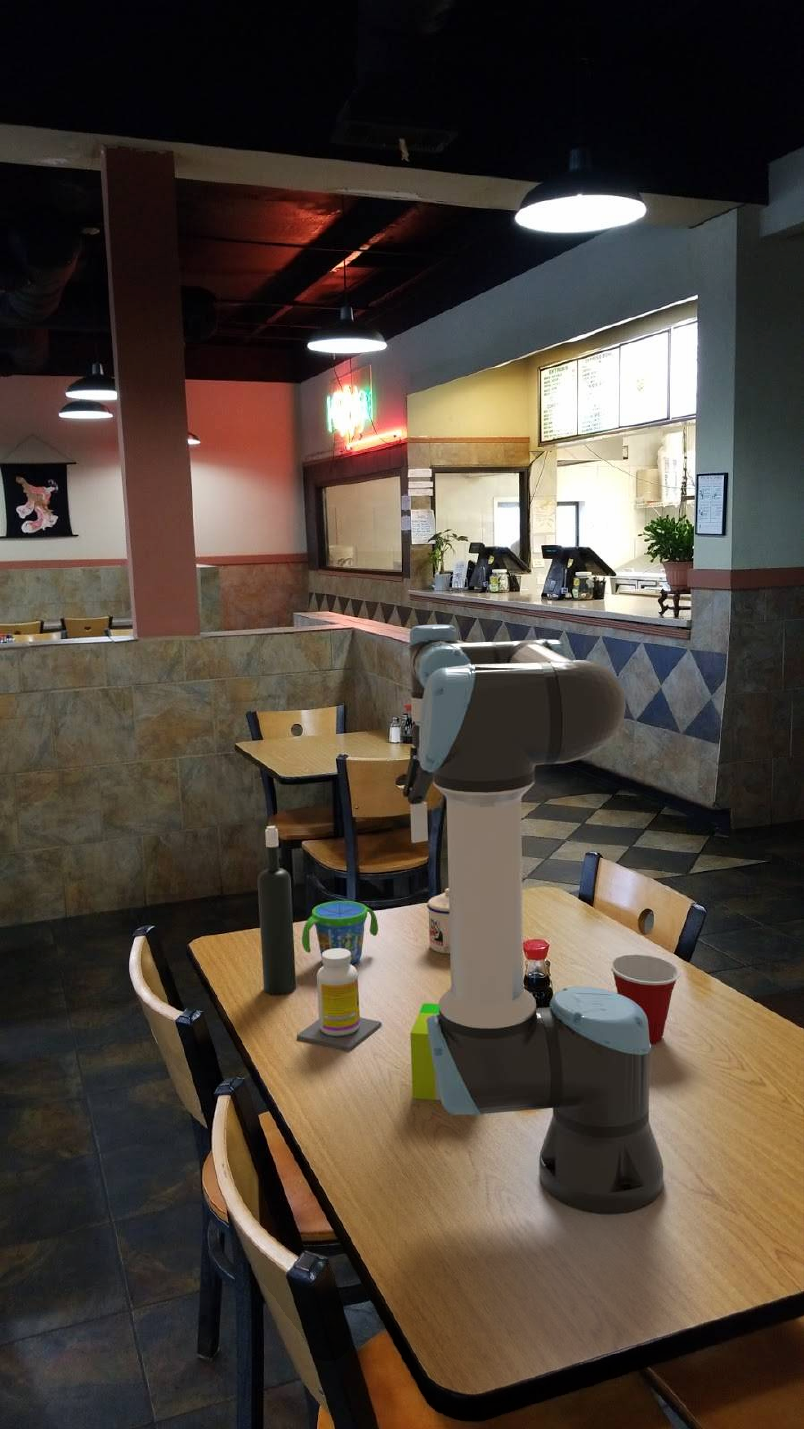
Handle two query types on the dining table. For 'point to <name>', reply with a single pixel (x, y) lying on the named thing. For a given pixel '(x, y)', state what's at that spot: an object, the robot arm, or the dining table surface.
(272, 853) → the wine bottle
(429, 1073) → the puzzle toy
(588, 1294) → the dining table surface
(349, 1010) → the supplement bottle
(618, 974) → the plastic cup
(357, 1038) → the coaster
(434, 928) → the teacup with lid
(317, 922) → the snack cup
